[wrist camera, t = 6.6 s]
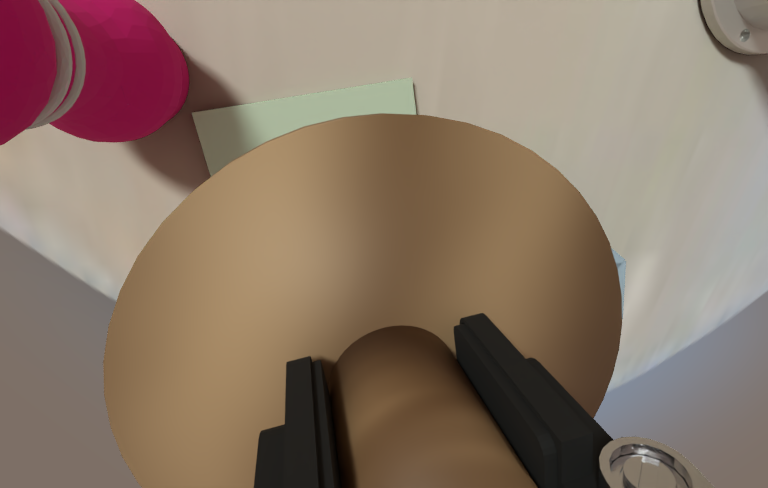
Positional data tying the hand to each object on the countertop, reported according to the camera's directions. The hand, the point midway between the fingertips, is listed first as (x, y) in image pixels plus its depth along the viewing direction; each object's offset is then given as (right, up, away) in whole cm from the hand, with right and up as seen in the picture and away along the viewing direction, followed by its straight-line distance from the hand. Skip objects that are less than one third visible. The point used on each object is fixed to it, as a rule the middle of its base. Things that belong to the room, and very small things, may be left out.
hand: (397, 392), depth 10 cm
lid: (0, 0, +1) cm, 1 cm away
